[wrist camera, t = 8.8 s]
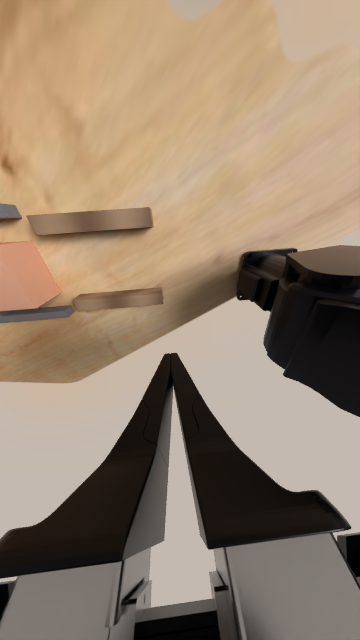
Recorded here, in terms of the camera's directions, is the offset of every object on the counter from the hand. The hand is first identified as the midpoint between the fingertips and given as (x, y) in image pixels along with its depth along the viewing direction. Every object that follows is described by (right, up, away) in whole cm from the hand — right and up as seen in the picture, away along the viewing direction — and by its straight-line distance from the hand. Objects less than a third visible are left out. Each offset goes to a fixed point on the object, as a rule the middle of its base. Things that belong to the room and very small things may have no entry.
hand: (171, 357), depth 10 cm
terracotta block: (-18, +9, +7) cm, 21 cm away
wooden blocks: (-8, +9, +7) cm, 14 cm away
